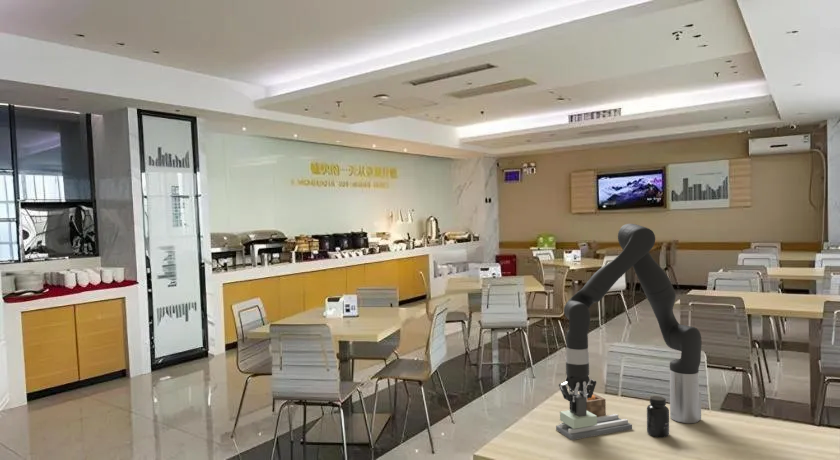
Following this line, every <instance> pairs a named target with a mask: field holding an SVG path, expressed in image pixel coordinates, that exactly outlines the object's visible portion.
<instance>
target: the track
mask: <svg viewBox="0 0 840 460" xmlns="http://www.w3.org/2000/svg"><path fill="white" fill-rule="evenodd" d="M632 429H633V423H632V424H631V423H629V420H628V419H627V418H623V419H622V418H620V417H619V414H617V413H613V414H607V415H606V416H600V417H597V425H593V426H588V427H582V428H576V429H573V428H572V427H570V426H568V425H567V424H565V423H564V422H561V423H560V422H559V424H558V425H555V430H556V432H557V433H558V432H559V433H560V434H561V435H563V436H565V437H566V438H568V439H569V440H570V441H575V440H580V439H585V438H591V437H597V436H601V435H607V434H613V433H618V432H624V431H629V430H632Z"/></svg>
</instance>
